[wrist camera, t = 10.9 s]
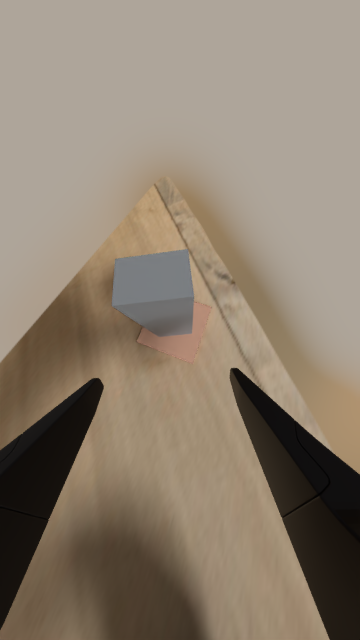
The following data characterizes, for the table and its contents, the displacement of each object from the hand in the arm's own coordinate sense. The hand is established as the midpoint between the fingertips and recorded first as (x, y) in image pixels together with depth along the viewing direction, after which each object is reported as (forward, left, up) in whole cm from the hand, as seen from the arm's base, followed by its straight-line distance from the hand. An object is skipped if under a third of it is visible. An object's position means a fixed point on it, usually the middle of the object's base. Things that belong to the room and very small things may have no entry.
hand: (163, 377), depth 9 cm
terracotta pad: (+3, -6, -10) cm, 12 cm away
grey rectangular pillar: (+3, -6, -9) cm, 11 cm away
